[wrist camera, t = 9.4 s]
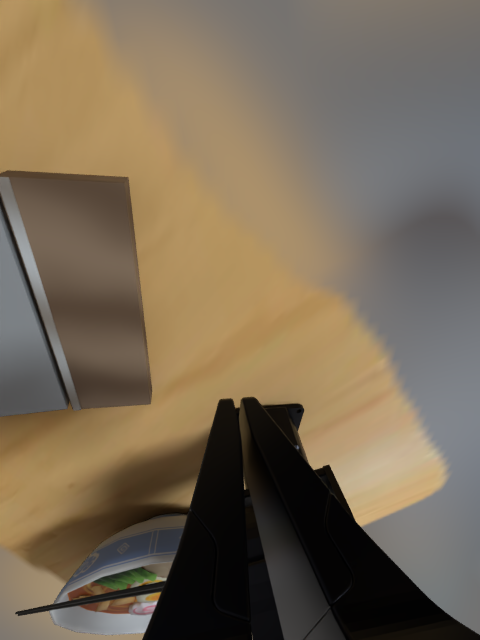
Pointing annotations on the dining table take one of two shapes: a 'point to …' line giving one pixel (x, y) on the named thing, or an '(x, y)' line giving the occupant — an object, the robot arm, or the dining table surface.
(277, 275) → the dining table surface
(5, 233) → the grey tile
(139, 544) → the ramen bowl
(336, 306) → the dining table surface
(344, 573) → the robot arm
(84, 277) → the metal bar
